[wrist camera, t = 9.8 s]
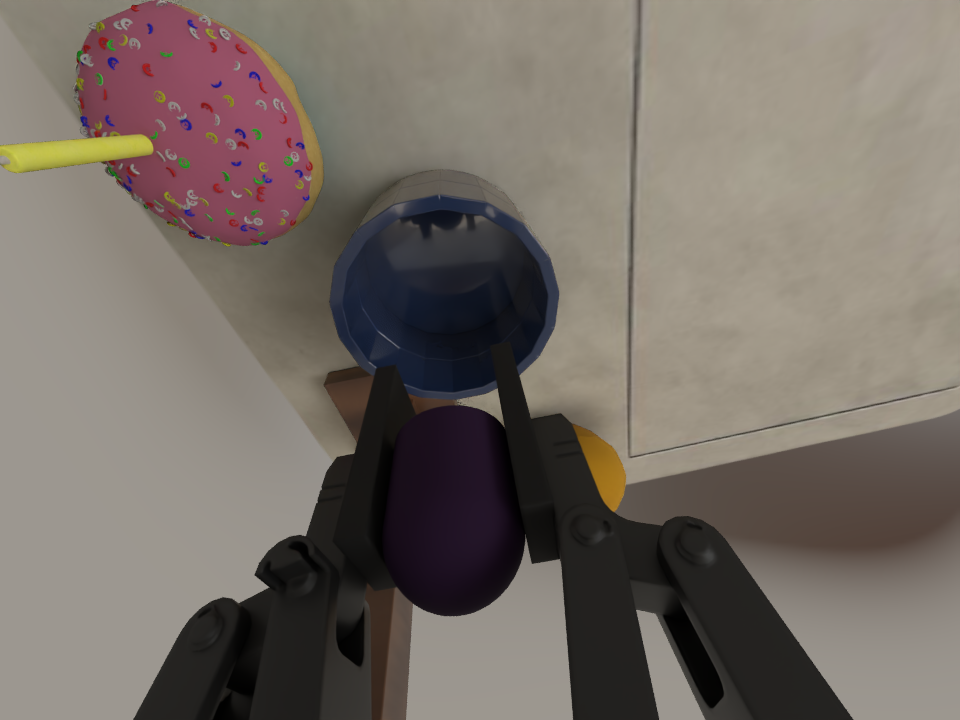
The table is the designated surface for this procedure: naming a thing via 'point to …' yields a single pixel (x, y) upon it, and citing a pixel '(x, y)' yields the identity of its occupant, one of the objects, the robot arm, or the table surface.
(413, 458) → the purple plum
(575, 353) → the table surface
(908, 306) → the table surface
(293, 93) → the cupcake
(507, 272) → the pot
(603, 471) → the apple
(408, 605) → the stand
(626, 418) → the table surface
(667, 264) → the table surface
